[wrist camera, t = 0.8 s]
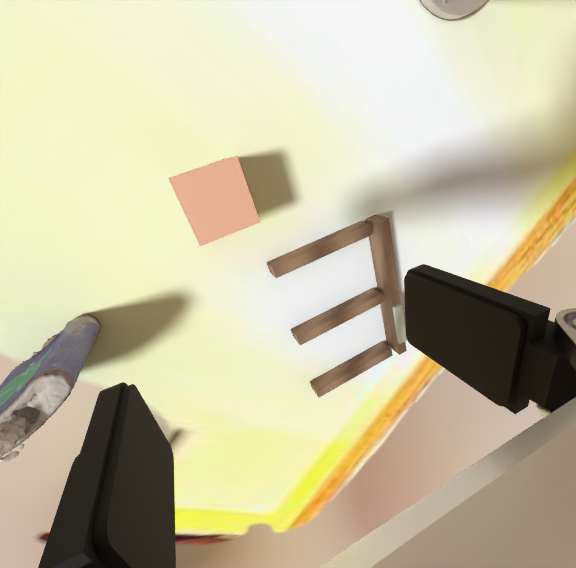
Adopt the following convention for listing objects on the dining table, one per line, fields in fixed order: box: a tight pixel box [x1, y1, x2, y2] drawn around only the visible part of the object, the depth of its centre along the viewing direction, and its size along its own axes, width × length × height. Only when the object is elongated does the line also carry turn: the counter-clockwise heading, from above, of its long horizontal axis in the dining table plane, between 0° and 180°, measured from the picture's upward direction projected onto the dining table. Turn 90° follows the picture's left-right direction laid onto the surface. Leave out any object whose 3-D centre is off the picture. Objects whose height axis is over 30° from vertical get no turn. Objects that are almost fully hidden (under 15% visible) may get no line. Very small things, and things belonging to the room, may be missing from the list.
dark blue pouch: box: [0, 315, 100, 462], centre depth 21 cm, size 9×3×11 cm, turn 127°
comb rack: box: [267, 215, 407, 397], centre depth 35 cm, size 14×20×3 cm
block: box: [169, 156, 260, 246], centre depth 23 cm, size 5×5×6 cm
